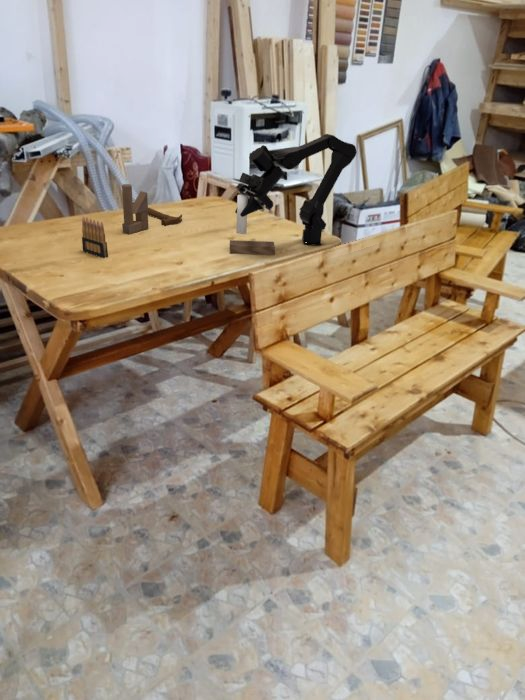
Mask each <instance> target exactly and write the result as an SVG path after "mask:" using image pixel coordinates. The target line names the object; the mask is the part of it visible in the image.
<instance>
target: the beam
mask: <svg viewBox="0 0 525 700" xmlns="http://www.w3.org/2000/svg"><path fill="white" fill-rule="evenodd" d="M275 250H276V245H275V242H274V241H266V240H265V241H264V240H263V241H262V240H236V239H235V240H233V239H230V240H229V254H231V255H232V254H238V255H263V256H264V255H266V256H267V255H268V256H270V255H271V256H275V254H276V253H275V252H276V251H275Z"/></svg>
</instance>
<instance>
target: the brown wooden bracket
mask: <svg viewBox="0 0 525 700" xmlns="http://www.w3.org/2000/svg"><path fill="white" fill-rule="evenodd" d="M121 189H122V190H121V193H122V208H123V209H122V210H123V223H122V224H121V225H122V233H124V234H127V235H131V234H135V233H138V232H141V231H142V230H143V231H146V230H148V229H149V215H148V208H149V205H148V204H149V203H148V202H149V201H148V200H149V199H148V192H145V191H142V190H140V191H139V193H138V195H137V197H136V198H135V200H134V202H133V185H132V184H129V183H124V184H121ZM134 216H135V220H134Z"/></svg>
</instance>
